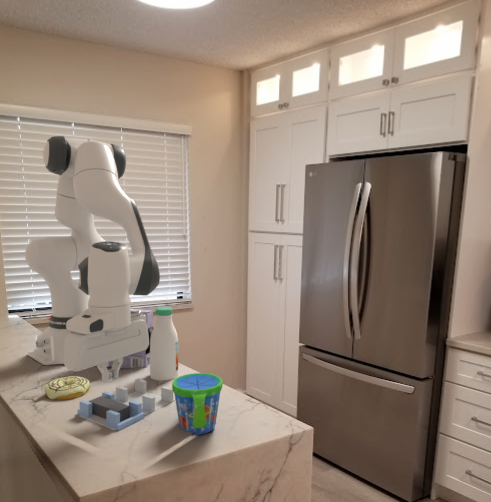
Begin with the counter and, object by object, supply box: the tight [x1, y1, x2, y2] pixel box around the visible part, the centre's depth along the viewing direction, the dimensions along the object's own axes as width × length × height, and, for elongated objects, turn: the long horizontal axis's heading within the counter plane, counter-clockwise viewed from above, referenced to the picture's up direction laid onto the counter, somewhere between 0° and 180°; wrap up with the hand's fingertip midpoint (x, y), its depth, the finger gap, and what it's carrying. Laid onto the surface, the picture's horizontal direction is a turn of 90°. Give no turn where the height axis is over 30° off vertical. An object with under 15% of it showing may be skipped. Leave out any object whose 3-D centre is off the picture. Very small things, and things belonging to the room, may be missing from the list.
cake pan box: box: [107, 308, 154, 370], centre depth 128 cm, size 19×5×18 cm, turn 77°
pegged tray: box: [77, 378, 176, 431], centre depth 97 cm, size 14×18×4 cm
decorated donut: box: [43, 375, 90, 401], centre depth 106 cm, size 10×11×4 cm
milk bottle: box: [149, 306, 179, 382], centre depth 118 cm, size 8×8×20 cm
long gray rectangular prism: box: [88, 395, 130, 422], centre depth 93 cm, size 10×3×3 cm, turn 57°
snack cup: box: [171, 372, 224, 436], centre depth 90 cm, size 16×10×10 cm
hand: (110, 379), depth 92 cm, fingers closed
